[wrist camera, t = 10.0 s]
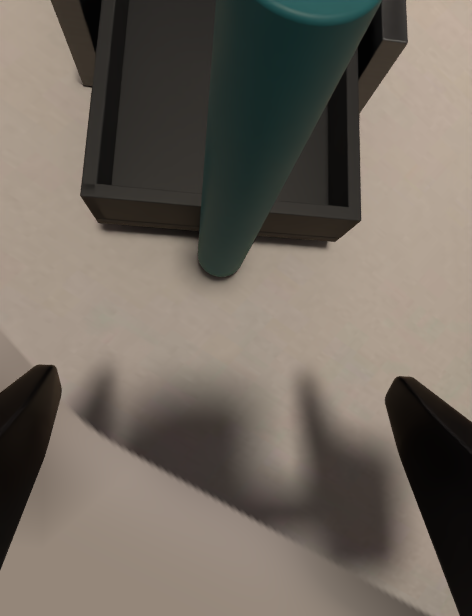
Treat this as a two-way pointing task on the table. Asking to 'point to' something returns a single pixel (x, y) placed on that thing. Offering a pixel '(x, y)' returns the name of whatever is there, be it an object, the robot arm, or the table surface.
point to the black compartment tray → (227, 120)
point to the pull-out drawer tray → (371, 50)
